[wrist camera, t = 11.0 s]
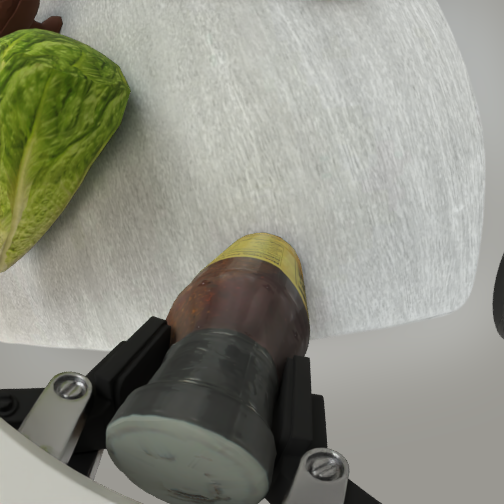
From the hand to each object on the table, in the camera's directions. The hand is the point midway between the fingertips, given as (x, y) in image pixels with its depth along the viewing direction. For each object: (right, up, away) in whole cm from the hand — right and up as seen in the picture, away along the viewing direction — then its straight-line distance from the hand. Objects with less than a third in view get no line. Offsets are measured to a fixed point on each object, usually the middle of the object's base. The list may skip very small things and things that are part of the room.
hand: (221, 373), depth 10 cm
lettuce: (-19, +13, +15) cm, 28 cm away
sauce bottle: (+2, +3, +14) cm, 15 cm away
